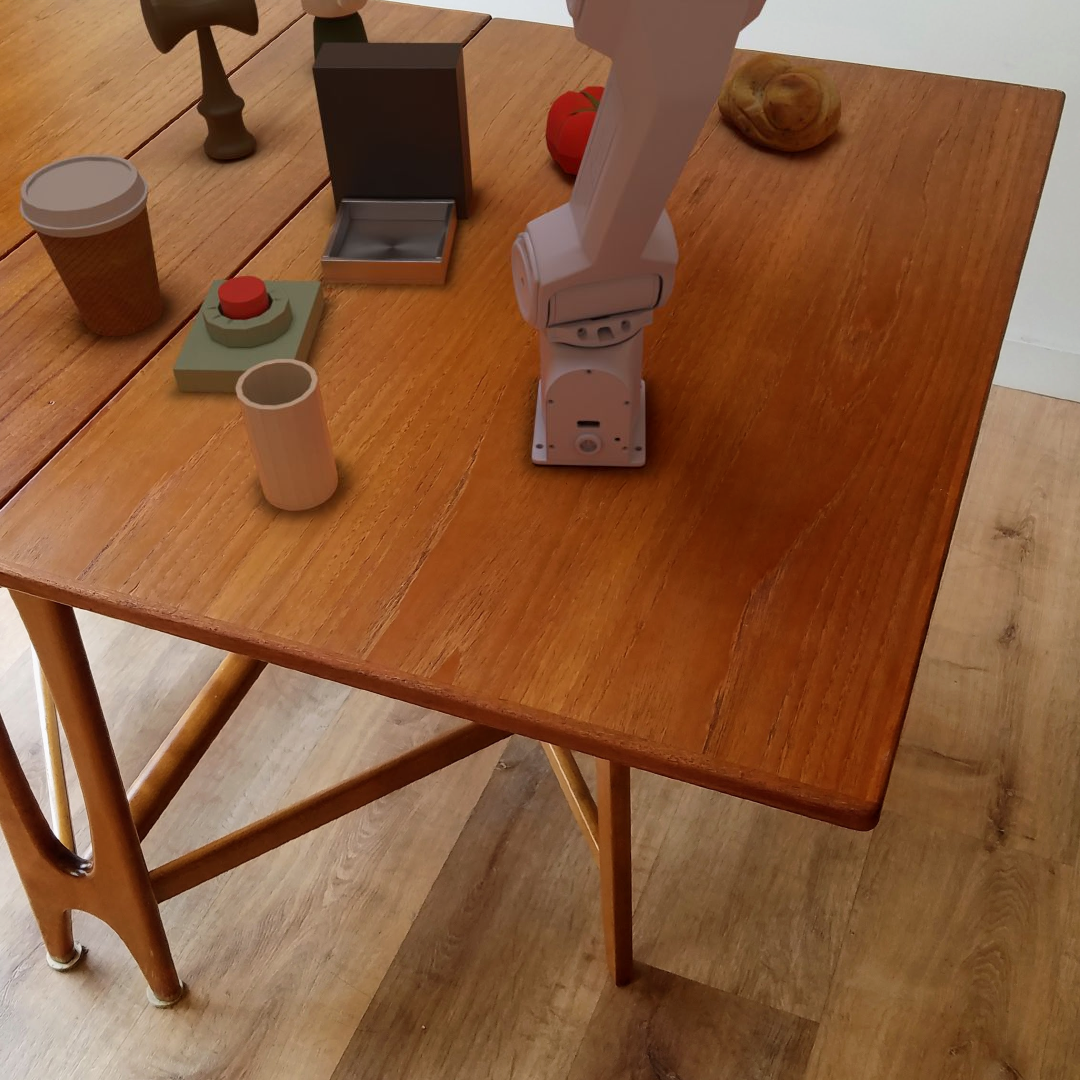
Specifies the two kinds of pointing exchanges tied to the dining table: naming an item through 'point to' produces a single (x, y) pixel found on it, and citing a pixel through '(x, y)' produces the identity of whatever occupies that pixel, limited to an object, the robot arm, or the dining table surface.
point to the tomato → (572, 126)
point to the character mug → (336, 21)
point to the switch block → (248, 336)
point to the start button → (243, 298)
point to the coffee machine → (395, 121)
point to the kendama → (208, 62)
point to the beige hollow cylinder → (288, 433)
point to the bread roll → (781, 103)
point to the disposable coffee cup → (98, 238)
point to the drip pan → (390, 241)
